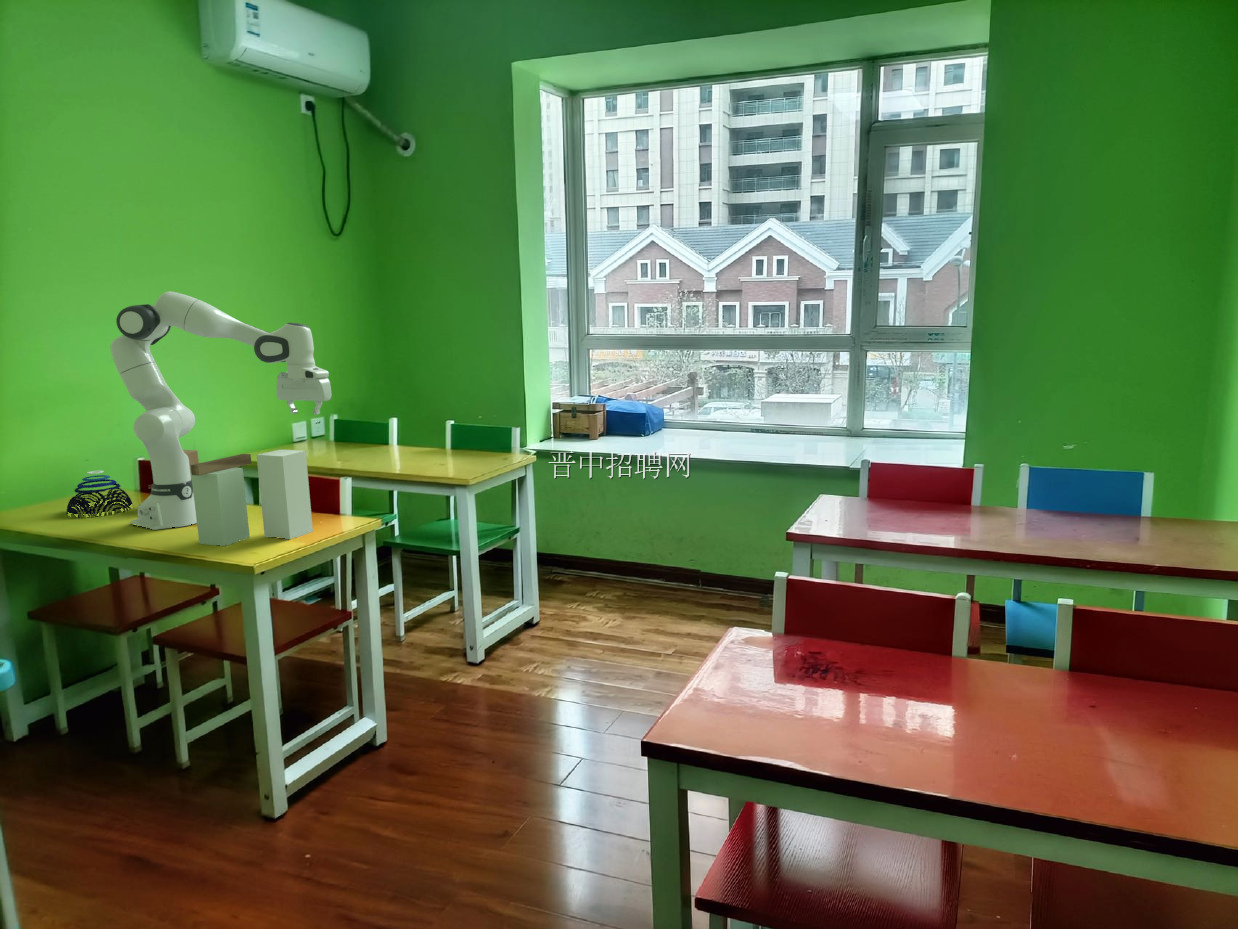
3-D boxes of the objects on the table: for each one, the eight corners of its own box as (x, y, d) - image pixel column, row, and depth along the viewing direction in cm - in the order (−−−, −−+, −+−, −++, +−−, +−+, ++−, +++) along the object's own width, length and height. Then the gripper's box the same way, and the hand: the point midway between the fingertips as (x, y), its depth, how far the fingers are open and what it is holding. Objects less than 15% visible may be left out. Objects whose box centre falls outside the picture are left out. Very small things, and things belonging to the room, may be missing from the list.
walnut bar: (191, 475, 248) (190, 465, 247) (244, 463, 266) (243, 453, 265) (199, 475, 247) (198, 465, 246) (251, 463, 265) (250, 454, 264)
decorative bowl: (54, 515, 297) (48, 475, 295) (110, 503, 315) (104, 465, 312) (89, 520, 288) (83, 479, 286) (144, 507, 306) (139, 468, 303)
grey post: (264, 537, 262) (256, 454, 257) (287, 529, 271) (280, 449, 266) (290, 539, 258) (282, 456, 253) (312, 531, 267) (305, 450, 263)
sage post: (199, 543, 256) (191, 472, 252) (225, 535, 265) (217, 466, 261) (224, 546, 252) (216, 474, 248) (249, 537, 261) (242, 468, 257)
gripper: (270, 372, 280) (273, 414, 282) (319, 373, 272) (323, 415, 275) (283, 371, 286) (287, 411, 288) (332, 371, 278) (336, 413, 281)
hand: (305, 413), depth 281 cm, fingers open, 8 cm apart
